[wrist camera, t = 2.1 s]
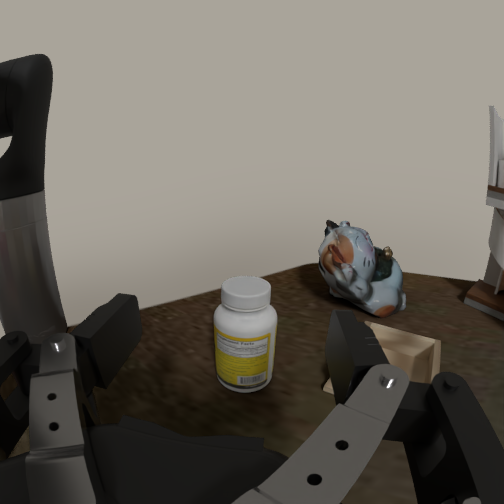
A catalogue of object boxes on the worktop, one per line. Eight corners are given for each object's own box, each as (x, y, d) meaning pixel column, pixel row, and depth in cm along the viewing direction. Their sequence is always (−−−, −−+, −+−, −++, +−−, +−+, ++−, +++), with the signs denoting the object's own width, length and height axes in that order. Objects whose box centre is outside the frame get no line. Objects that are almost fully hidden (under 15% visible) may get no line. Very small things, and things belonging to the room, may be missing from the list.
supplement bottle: (236, 352, 30) (238, 267, 27) (281, 370, 27) (292, 282, 24) (204, 378, 25) (199, 286, 22) (252, 403, 22) (258, 307, 19)
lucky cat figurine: (409, 325, 34) (394, 241, 29) (330, 338, 40) (297, 264, 35) (400, 263, 46) (383, 192, 40) (339, 276, 52) (313, 211, 46)
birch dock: (322, 390, 24) (329, 367, 23) (354, 338, 32) (360, 317, 31) (430, 423, 18) (444, 400, 17) (437, 361, 26) (446, 340, 25)
